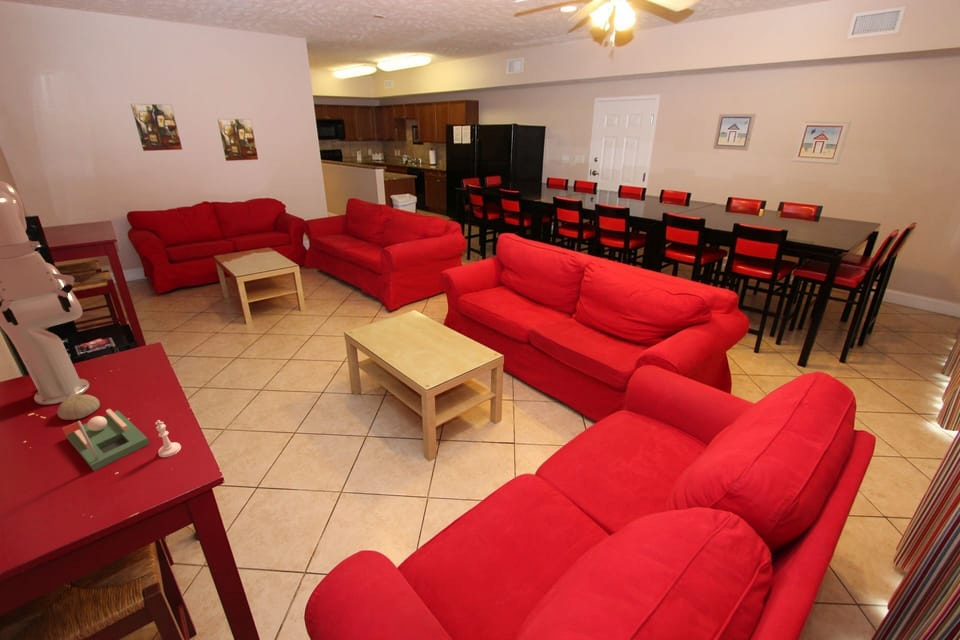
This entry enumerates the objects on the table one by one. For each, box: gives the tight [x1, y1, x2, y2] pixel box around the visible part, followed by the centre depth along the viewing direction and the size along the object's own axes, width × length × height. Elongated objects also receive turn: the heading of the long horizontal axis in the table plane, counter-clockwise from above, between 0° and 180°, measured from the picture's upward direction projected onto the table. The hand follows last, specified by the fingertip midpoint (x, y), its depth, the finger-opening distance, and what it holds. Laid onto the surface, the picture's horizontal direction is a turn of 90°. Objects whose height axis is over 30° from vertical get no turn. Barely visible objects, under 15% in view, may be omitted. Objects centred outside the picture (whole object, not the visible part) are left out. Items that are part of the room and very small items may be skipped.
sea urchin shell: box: [56, 393, 101, 421], centre depth 124 cm, size 9×8×8 cm
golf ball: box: [87, 415, 107, 431], centre depth 114 cm, size 4×4×4 cm
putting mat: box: [61, 408, 150, 472], centre depth 110 cm, size 20×14×14 cm
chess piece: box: [154, 419, 182, 458], centre depth 109 cm, size 5×5×10 cm
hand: (42, 317), depth 105 cm, fingers open, 9 cm apart
